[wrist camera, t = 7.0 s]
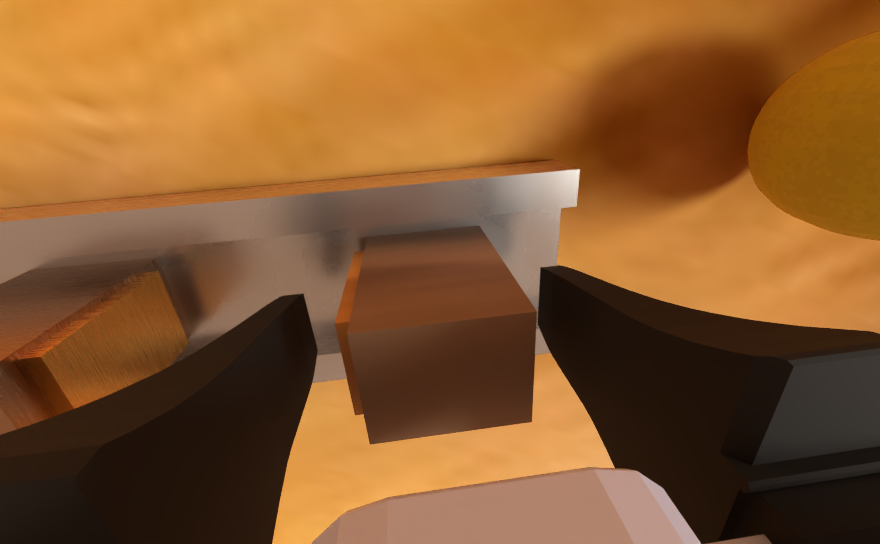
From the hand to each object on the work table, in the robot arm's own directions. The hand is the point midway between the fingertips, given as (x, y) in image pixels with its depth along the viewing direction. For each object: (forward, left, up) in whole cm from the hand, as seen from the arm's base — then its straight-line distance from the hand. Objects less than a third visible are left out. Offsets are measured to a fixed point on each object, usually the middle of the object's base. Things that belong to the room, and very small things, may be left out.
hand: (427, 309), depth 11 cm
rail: (0, +6, -3) cm, 7 cm away
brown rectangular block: (0, 0, -3) cm, 3 cm away
